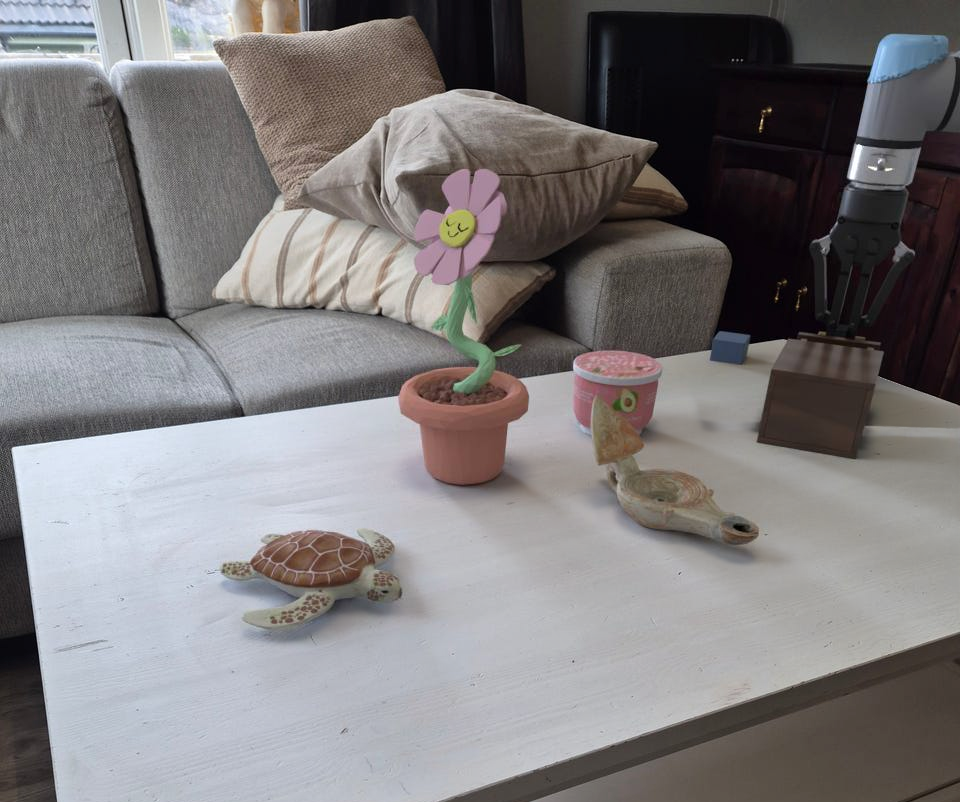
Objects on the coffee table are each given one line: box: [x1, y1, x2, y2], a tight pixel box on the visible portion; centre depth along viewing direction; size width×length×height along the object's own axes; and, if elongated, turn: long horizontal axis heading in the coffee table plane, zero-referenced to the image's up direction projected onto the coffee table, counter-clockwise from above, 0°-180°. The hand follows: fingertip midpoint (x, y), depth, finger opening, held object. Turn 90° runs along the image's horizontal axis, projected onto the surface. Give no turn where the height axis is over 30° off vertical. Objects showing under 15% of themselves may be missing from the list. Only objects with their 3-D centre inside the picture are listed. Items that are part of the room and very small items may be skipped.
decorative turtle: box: [219, 527, 403, 631], centre depth 79 cm, size 18×17×5 cm
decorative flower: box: [397, 168, 530, 486], centre depth 93 cm, size 15×14×30 cm
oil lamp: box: [590, 395, 760, 546], centre depth 90 cm, size 9×21×10 cm, turn 40°
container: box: [572, 350, 663, 436], centre depth 111 cm, size 10×10×8 cm
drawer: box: [796, 331, 881, 351], centre depth 119 cm, size 19×10×7 cm, turn 156°
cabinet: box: [756, 338, 885, 460], centre depth 111 cm, size 13×11×9 cm
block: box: [709, 330, 751, 366], centre depth 132 cm, size 4×4×4 cm
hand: (830, 375), depth 125 cm, fingers closed
